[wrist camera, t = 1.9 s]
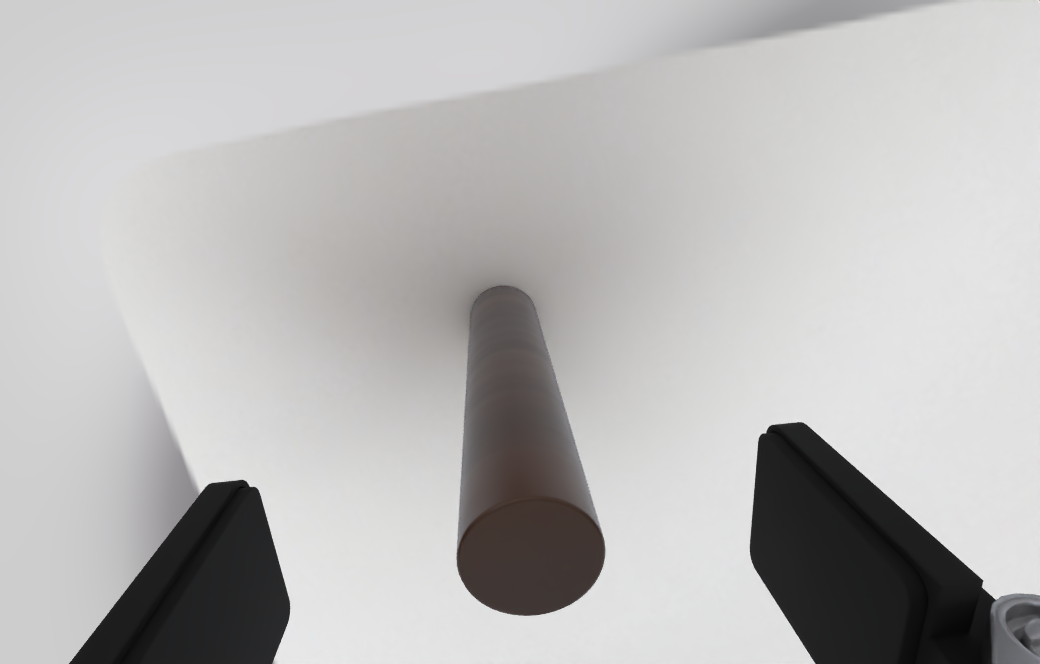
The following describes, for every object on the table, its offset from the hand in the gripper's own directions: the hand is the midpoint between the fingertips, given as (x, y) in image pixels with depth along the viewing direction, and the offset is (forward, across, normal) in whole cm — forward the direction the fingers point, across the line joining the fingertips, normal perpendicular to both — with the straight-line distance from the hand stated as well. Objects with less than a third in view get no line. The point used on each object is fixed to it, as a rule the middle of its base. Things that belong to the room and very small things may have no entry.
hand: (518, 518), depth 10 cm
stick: (+10, 0, 0) cm, 11 cm away
